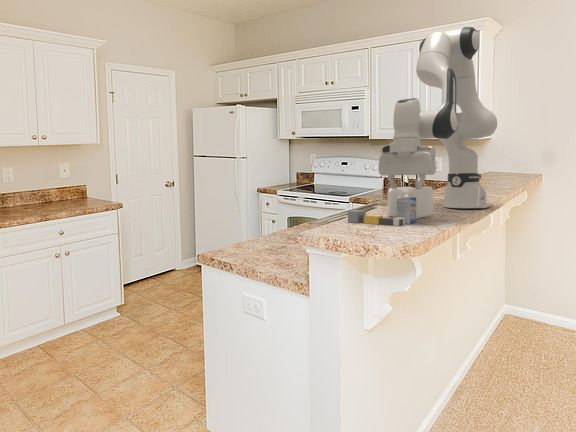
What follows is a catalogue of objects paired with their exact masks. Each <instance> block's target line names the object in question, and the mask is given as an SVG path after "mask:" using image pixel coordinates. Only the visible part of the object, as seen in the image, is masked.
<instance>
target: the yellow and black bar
mask: <svg viewBox="0 0 576 432" xmlns="http://www.w3.org/2000/svg"><path fill="white" fill-rule="evenodd" d="M359 224H367V225H368V224H370V225H382V226H383V225H384V226H393V227H402V226H405V224H404V217H398V218H397V217H390V218H388V217H384V216H383V215H375V214H374V215H371V214H366V215H365V216H364V217H361V222H360V223H359Z"/></svg>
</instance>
